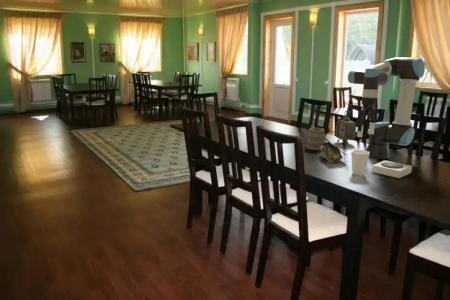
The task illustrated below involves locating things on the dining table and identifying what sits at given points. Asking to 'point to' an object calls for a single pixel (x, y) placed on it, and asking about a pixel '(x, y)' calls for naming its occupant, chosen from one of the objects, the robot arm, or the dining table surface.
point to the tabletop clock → (345, 129)
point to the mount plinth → (391, 169)
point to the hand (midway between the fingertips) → (365, 135)
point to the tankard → (315, 138)
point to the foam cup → (359, 161)
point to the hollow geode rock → (331, 152)
